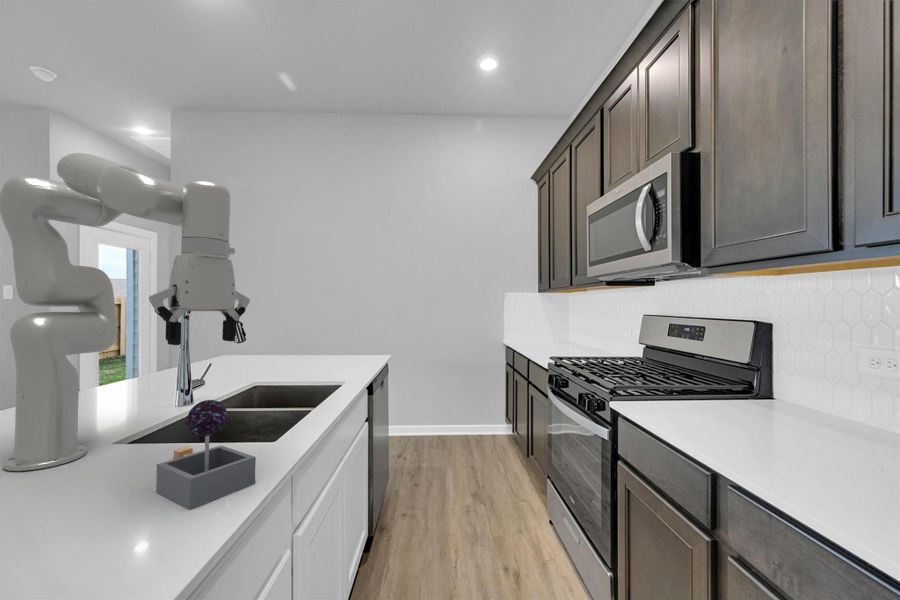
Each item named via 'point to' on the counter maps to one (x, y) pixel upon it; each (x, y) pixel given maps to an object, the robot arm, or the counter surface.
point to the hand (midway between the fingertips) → (202, 342)
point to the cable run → (183, 452)
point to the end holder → (205, 476)
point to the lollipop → (207, 421)
